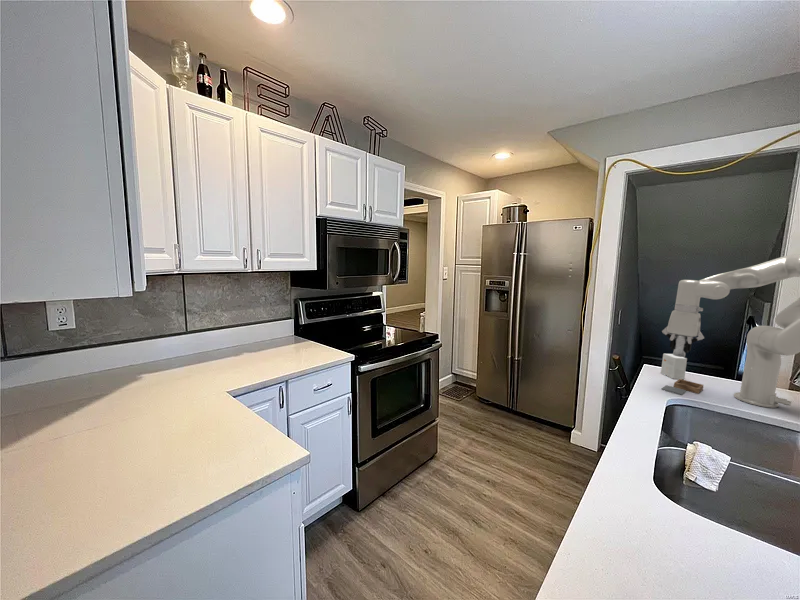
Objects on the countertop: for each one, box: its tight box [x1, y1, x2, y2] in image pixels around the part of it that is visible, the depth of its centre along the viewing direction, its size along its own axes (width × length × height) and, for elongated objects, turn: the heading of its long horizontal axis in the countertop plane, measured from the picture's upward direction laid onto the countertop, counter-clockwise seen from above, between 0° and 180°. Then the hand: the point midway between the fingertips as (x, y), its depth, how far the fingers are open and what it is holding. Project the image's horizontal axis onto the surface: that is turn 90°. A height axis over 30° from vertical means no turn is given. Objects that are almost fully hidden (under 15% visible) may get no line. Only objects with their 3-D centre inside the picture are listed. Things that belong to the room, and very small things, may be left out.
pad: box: [660, 384, 687, 396], centre depth 143 cm, size 7×7×1 cm
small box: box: [660, 353, 688, 380], centre depth 162 cm, size 8×6×10 cm
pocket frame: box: [673, 379, 705, 395], centre depth 147 cm, size 8×8×2 cm
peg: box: [672, 334, 688, 358], centre depth 141 cm, size 4×4×9 cm
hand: (679, 350), depth 141 cm, fingers closed on peg, 4 cm apart
